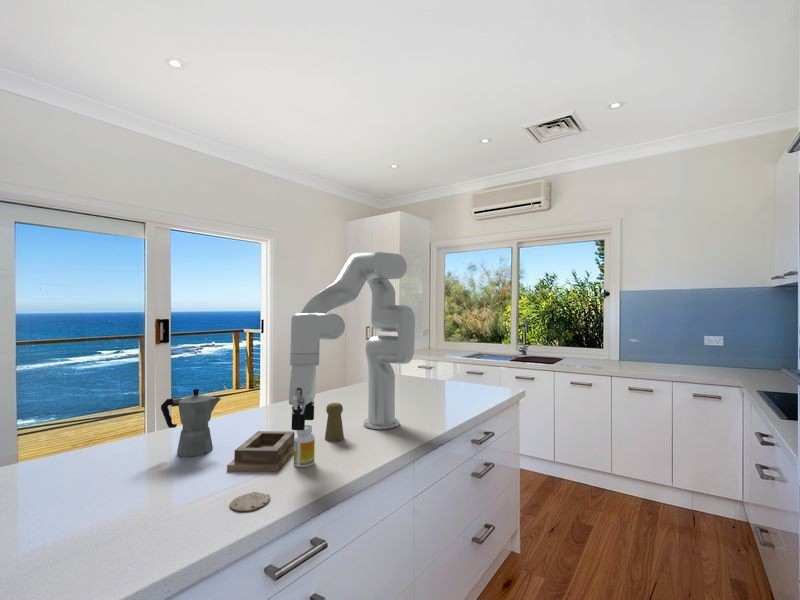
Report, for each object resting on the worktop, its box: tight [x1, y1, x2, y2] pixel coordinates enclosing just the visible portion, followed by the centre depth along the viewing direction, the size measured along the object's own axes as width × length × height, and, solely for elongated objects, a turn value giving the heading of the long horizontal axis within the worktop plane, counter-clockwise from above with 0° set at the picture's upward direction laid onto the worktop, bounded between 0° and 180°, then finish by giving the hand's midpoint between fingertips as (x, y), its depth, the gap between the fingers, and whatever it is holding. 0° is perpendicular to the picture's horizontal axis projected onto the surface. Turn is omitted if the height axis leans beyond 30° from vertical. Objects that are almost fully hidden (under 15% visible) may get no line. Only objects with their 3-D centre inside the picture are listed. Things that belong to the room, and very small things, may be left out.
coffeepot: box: [160, 388, 222, 458], centre depth 114 cm, size 15×9×18 cm, turn 110°
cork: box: [324, 402, 345, 442], centre depth 126 cm, size 6×6×11 cm
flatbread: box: [229, 491, 271, 512], centre depth 84 cm, size 8×8×1 cm
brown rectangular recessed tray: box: [226, 430, 295, 473], centre depth 111 cm, size 20×13×4 cm, turn 179°
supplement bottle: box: [293, 424, 316, 468], centre depth 106 cm, size 5×5×10 cm
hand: (303, 424), depth 105 cm, fingers open, 9 cm apart
